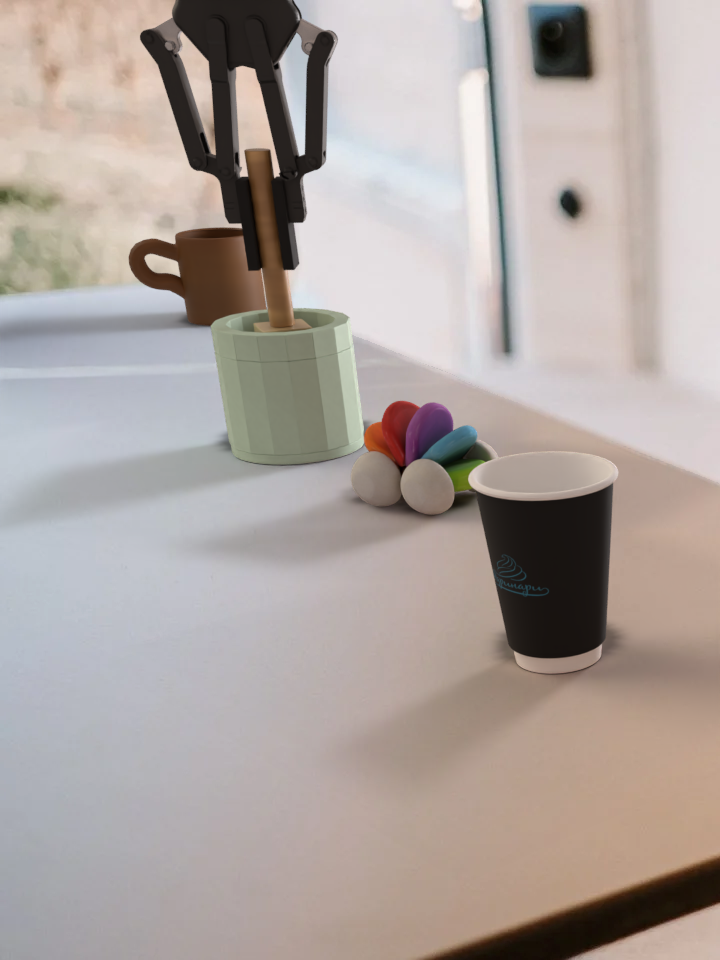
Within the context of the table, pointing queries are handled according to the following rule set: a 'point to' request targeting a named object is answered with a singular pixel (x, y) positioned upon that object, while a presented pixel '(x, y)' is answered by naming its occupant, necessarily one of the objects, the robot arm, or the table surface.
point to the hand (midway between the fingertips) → (274, 266)
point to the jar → (289, 388)
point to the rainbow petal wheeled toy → (417, 458)
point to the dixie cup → (549, 553)
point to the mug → (204, 273)
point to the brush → (270, 246)
